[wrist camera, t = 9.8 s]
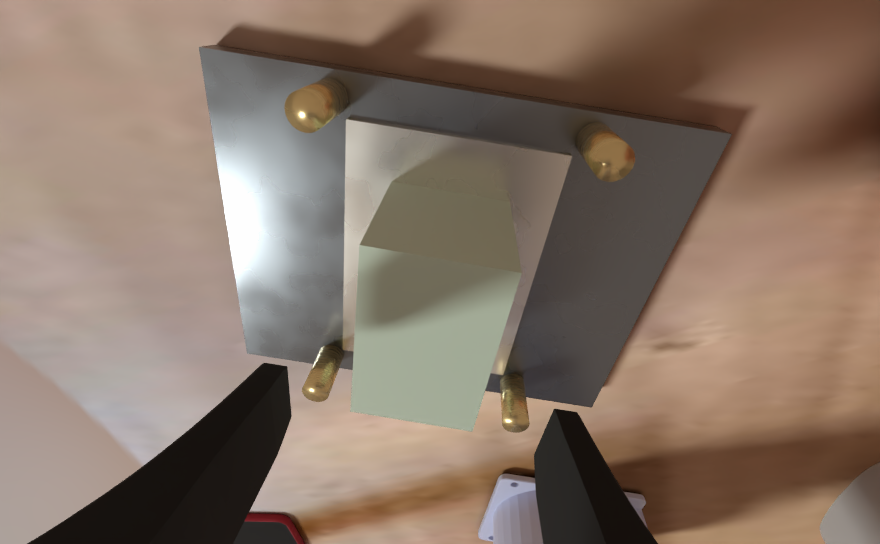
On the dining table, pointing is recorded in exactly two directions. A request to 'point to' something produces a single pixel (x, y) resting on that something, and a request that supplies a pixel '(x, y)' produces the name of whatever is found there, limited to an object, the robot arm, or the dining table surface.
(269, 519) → the smartphone
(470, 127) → the chassis
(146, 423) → the dining table surface
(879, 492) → the lumpy-topped squat cylinder
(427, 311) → the board block
